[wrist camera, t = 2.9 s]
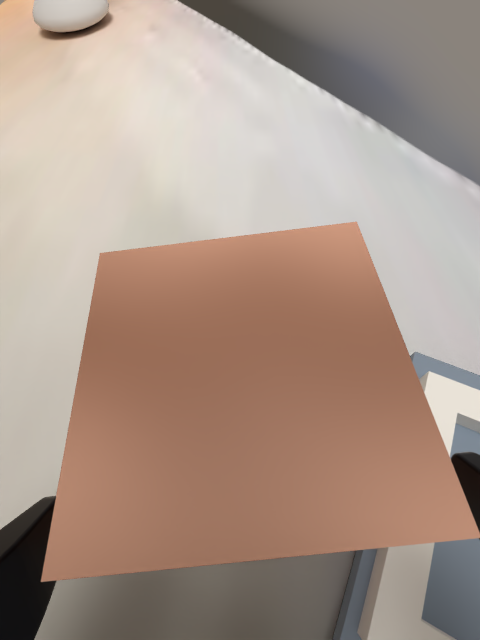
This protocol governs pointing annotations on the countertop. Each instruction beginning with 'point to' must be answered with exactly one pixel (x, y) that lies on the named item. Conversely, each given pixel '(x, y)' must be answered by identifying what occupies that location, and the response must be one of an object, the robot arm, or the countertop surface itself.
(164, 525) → the terracotta block
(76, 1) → the flower in vase
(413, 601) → the board
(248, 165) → the countertop surface
